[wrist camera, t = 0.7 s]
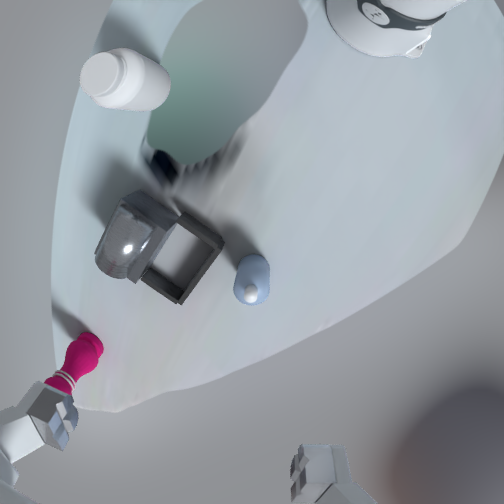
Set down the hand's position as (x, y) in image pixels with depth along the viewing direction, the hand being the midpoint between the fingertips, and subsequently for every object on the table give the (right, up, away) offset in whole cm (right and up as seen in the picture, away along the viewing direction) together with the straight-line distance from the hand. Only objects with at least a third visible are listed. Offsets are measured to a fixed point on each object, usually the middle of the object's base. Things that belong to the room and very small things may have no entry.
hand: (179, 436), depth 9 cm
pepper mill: (-32, -14, +49) cm, 60 cm away
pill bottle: (-13, +31, +31) cm, 46 cm away
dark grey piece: (-12, +8, +40) cm, 42 cm away
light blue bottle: (+3, +3, +40) cm, 41 cm away
